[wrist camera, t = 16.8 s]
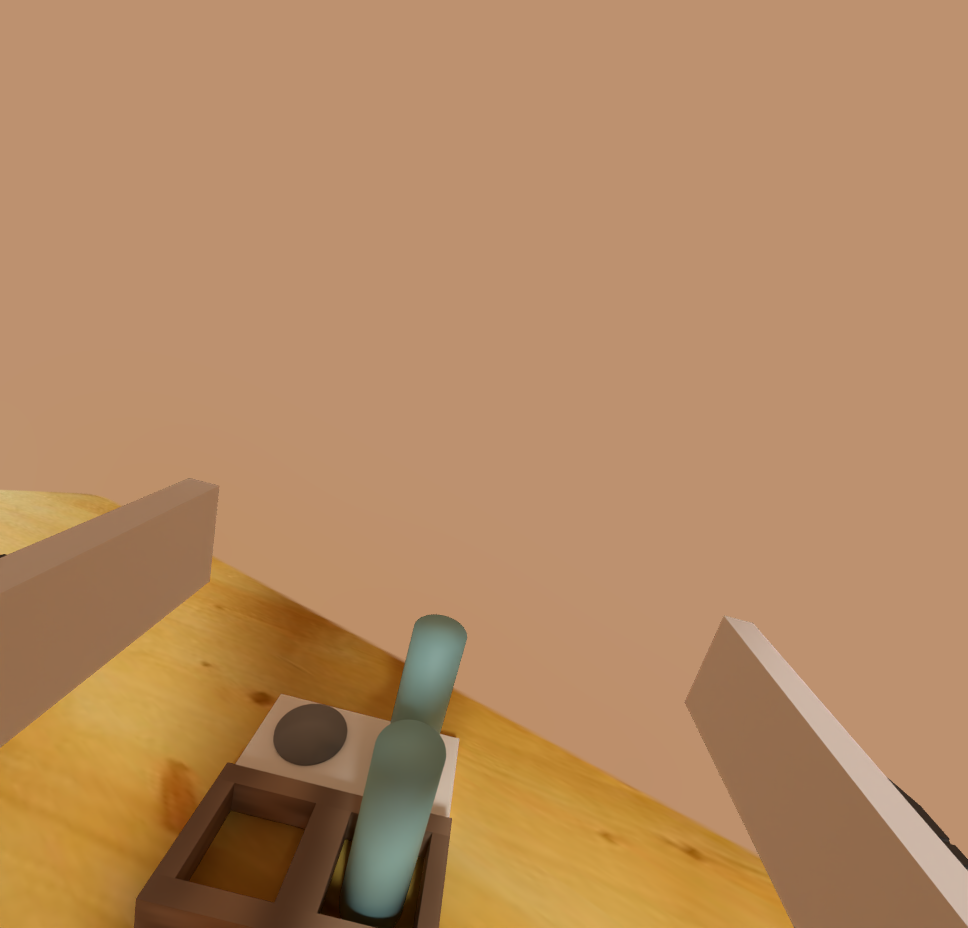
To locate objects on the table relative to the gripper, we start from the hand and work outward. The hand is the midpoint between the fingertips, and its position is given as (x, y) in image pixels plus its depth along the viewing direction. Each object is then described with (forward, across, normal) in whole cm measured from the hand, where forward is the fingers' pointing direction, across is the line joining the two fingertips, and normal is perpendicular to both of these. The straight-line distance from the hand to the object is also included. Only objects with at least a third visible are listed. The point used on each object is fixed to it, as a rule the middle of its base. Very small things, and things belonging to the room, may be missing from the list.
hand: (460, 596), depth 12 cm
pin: (+19, 0, -27) cm, 33 cm away
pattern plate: (+18, -4, -28) cm, 33 cm away
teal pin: (+10, 0, -28) cm, 30 cm away
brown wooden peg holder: (+10, -4, -28) cm, 30 cm away
